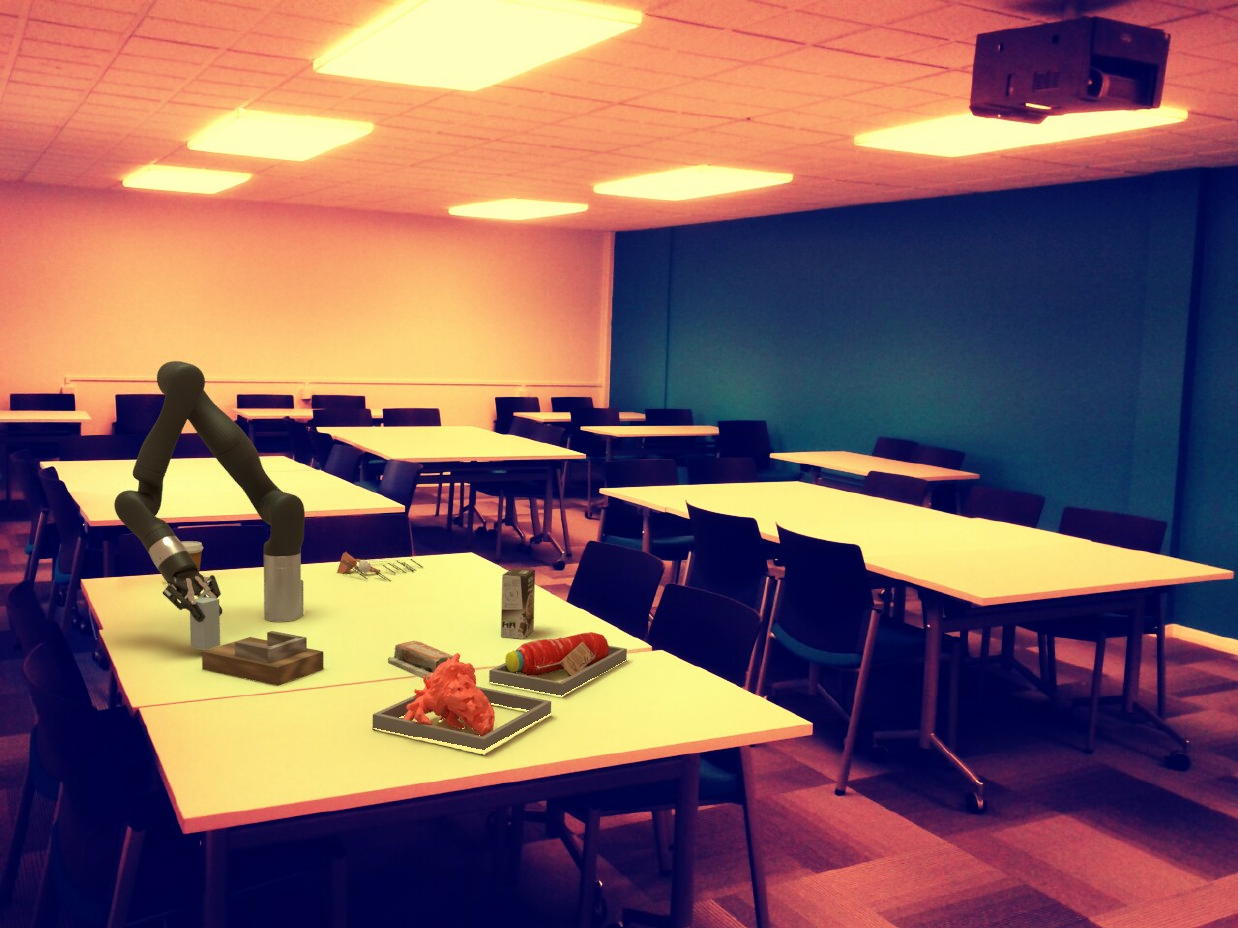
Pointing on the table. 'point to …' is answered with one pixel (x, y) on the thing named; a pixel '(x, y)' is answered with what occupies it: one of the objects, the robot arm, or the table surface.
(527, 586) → the coffee box
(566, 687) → the bottle corral
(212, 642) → the slate post
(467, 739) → the heart corral
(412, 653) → the packaged product
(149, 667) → the table surface
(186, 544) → the disposable coffee cup
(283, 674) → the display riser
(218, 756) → the table surface
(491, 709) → the heart model
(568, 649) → the water bottle
